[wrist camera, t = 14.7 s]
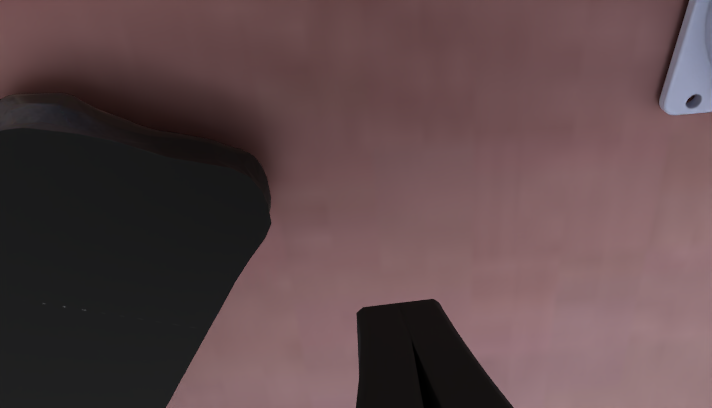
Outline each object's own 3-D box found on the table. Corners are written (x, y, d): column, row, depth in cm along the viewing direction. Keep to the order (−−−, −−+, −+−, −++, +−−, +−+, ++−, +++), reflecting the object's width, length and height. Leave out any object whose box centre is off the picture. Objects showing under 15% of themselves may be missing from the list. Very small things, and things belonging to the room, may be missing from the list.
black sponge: (13, 34, 17) (-41, 96, 14) (291, 143, 20) (294, 211, 17) (-65, 380, 25) (-109, 464, 22) (142, 420, 28) (127, 498, 25)
